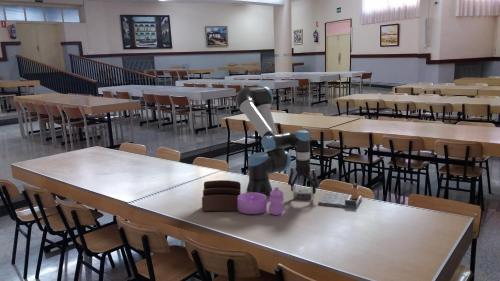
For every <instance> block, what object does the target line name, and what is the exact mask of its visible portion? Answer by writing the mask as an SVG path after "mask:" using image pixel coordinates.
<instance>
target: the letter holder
mask: <svg viewBox="0 0 500 281" xmlns="http://www.w3.org/2000/svg"><path fill="white" fill-rule="evenodd" d="M241 188H242V187H241V182H240V181H236V180H227V179H226V180H223V179H222V180H221V179H220V180H217V179H216V180H206V181H204V183H203V190H202V197H201V210H202V212H203V211H205V212H239V211H238V210H237V197H239V196H238V195H240V194H242V192H241V191H242V190H241ZM239 198H240V197H239Z"/></svg>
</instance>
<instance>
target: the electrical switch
mask: <svg viewBox="0 0 500 281" xmlns="http://www.w3.org/2000/svg"><path fill="white" fill-rule="evenodd" d="M295 194H296V196H295V197H296V199H297V200H298V199H300V200H301V199H303V200H311V188H300V187H299V188H296V191H295Z"/></svg>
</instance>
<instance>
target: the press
mask: <svg viewBox="0 0 500 281" xmlns="http://www.w3.org/2000/svg"><path fill="white" fill-rule="evenodd" d="M362 200H363V197H362V195H359V198H358V199H351V194H350V195H342V194H331V193H325V194H324V195H323V196H322V197H321V198H320V199H319V201H318V202H317V203H318V204H317V205H319V206H325V207H336V208H345V209H352V210H353V209H356V210H357V209H358V207H359V205H360V204H361V202H362Z"/></svg>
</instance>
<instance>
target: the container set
mask: <svg viewBox="0 0 500 281" xmlns="http://www.w3.org/2000/svg"><path fill="white" fill-rule="evenodd" d="M273 188H274V189H272V191H271V192H270V195H269V198H268V197H267V196H266V195H264V194H260V193H247V192H243V193H241V194H240V195H238V196H239V197H240V198H239V197H237V210H238V211H237V212H240V213H242V214H247V215H259V214H263V213H265V212H266V211H267V209H268V211H269V213H270V214H272V215H274V216H279V215H281V214H282V213H283V212H284V205H283V204H282V203H283V202H284V192H283V191H282V190H280V189H279V187H273ZM268 200H269V202H270V204H269V205H267V204H268Z"/></svg>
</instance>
